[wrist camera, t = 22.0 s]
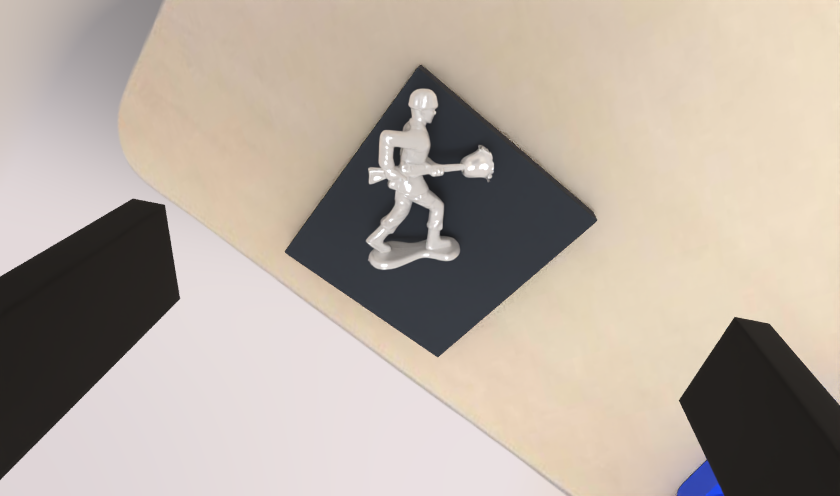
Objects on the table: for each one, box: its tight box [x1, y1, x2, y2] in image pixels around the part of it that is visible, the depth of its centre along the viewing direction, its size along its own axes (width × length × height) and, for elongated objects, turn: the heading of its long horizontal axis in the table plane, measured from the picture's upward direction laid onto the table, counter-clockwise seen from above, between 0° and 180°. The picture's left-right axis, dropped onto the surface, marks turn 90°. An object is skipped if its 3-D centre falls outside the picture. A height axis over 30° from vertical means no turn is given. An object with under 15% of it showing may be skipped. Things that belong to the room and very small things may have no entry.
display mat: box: [285, 65, 597, 357], centre depth 36 cm, size 17×19×2 cm
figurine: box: [366, 89, 494, 270], centre depth 31 cm, size 5×9×12 cm
